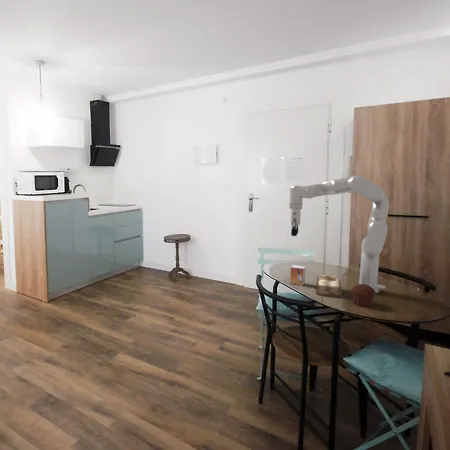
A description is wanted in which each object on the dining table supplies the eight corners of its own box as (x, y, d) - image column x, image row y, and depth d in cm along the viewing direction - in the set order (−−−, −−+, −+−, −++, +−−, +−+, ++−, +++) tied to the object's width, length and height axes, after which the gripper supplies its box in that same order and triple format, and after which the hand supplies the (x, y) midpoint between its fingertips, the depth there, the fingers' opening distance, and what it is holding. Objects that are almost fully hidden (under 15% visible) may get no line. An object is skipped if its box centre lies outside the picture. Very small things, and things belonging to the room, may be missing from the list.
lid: (338, 280, 202) (338, 275, 201) (339, 287, 188) (339, 282, 188) (318, 279, 205) (319, 274, 205) (318, 285, 192) (318, 280, 191)
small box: (289, 283, 212) (290, 266, 211) (292, 281, 217) (293, 264, 216) (302, 285, 208) (303, 268, 207) (305, 283, 213) (305, 266, 212)
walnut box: (339, 288, 204) (340, 278, 203) (340, 297, 189) (341, 286, 188) (316, 286, 208) (317, 276, 207) (316, 294, 192) (316, 283, 192)
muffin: (346, 303, 180) (347, 284, 178) (356, 298, 187) (357, 280, 186) (369, 309, 171) (371, 289, 170) (378, 304, 179) (380, 285, 178)
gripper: (301, 207, 198) (300, 237, 200) (303, 205, 215) (302, 233, 217) (288, 207, 200) (286, 236, 202) (290, 205, 217) (289, 232, 219)
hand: (294, 234), depth 210 cm, fingers open, 9 cm apart
